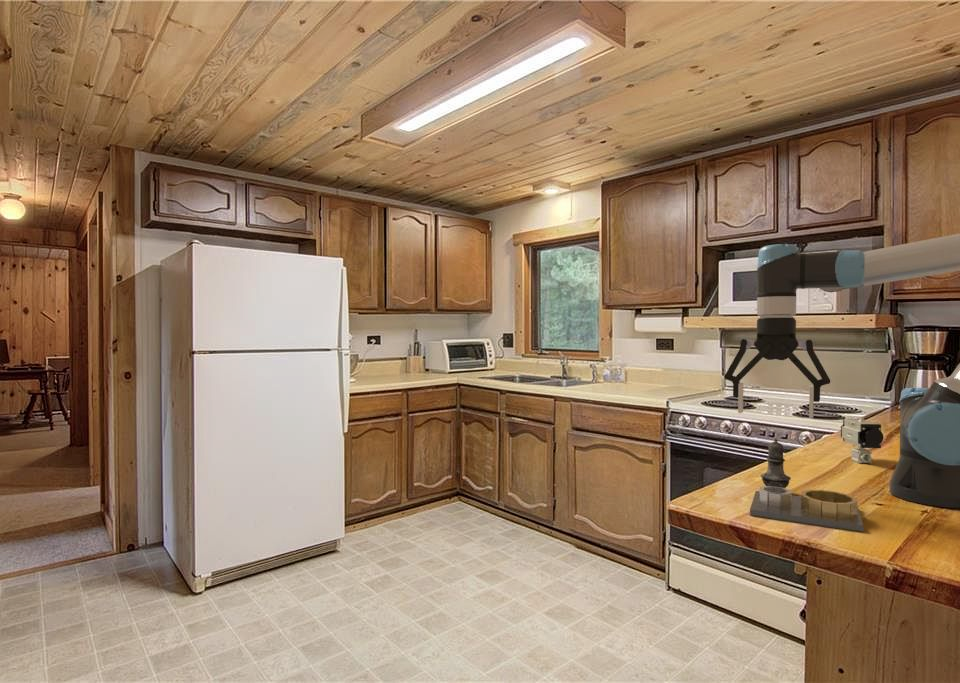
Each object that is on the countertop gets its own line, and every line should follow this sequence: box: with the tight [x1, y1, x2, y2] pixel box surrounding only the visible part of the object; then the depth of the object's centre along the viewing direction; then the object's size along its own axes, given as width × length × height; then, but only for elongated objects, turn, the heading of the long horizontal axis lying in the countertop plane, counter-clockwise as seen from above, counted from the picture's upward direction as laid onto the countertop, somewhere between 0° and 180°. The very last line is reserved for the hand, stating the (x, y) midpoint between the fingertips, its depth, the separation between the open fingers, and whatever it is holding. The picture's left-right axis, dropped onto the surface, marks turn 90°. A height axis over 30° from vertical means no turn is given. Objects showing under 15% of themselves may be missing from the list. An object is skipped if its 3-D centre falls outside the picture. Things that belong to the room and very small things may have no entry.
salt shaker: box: [760, 437, 792, 489], centre depth 122 cm, size 6×6×12 cm
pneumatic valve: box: [840, 416, 885, 464], centre depth 149 cm, size 6×12×12 cm, turn 174°
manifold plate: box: [749, 485, 864, 533], centre depth 109 cm, size 18×14×4 cm
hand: (774, 414), depth 122 cm, fingers open, 13 cm apart
